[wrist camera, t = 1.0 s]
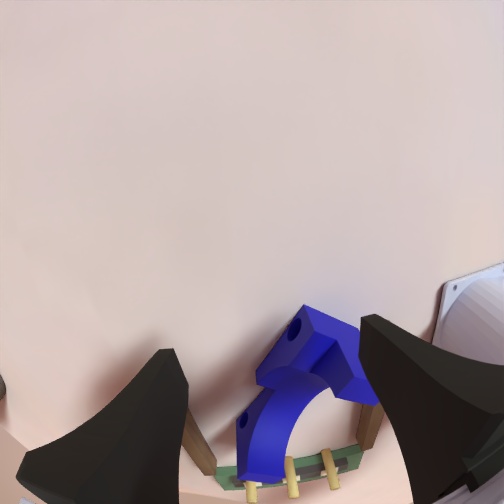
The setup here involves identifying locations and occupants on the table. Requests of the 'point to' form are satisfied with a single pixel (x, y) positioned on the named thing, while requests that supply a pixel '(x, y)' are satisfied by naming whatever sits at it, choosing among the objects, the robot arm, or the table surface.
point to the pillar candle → (2, 388)
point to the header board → (297, 472)
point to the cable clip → (297, 389)
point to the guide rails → (208, 462)
